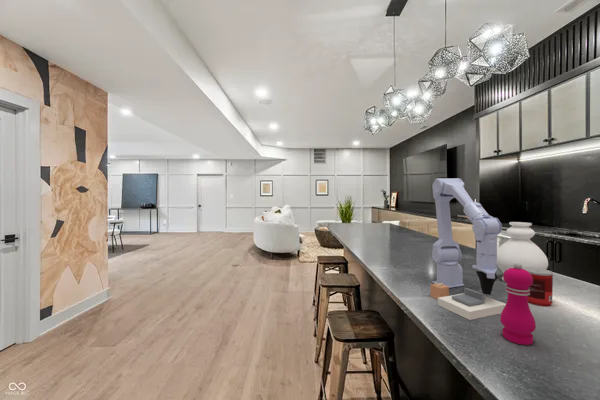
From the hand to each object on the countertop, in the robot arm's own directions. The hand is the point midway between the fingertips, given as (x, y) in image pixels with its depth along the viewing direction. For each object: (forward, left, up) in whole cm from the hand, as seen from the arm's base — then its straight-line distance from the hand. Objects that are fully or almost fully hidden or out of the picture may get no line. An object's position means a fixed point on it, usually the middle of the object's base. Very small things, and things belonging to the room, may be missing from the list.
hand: (486, 293), depth 93 cm
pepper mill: (+13, +18, -4) cm, 22 cm away
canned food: (-19, +4, -4) cm, 20 cm away
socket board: (+7, 0, -4) cm, 8 cm away
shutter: (+8, 0, -1) cm, 8 cm away
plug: (+9, -11, -4) cm, 15 cm away
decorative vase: (-37, -13, -4) cm, 40 cm away
